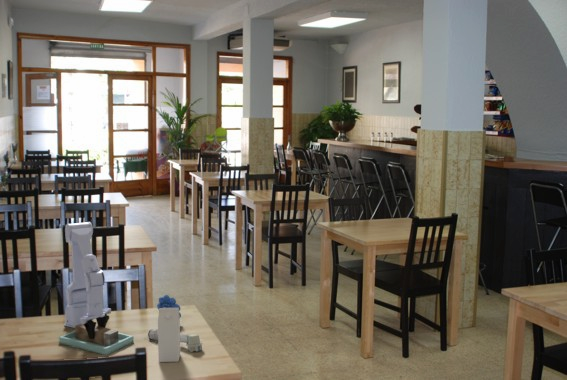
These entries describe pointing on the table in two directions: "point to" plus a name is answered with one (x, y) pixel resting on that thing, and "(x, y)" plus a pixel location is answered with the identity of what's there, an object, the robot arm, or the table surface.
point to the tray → (93, 347)
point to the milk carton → (169, 334)
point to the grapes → (167, 303)
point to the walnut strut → (97, 335)
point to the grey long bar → (182, 340)
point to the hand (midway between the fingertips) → (96, 336)
